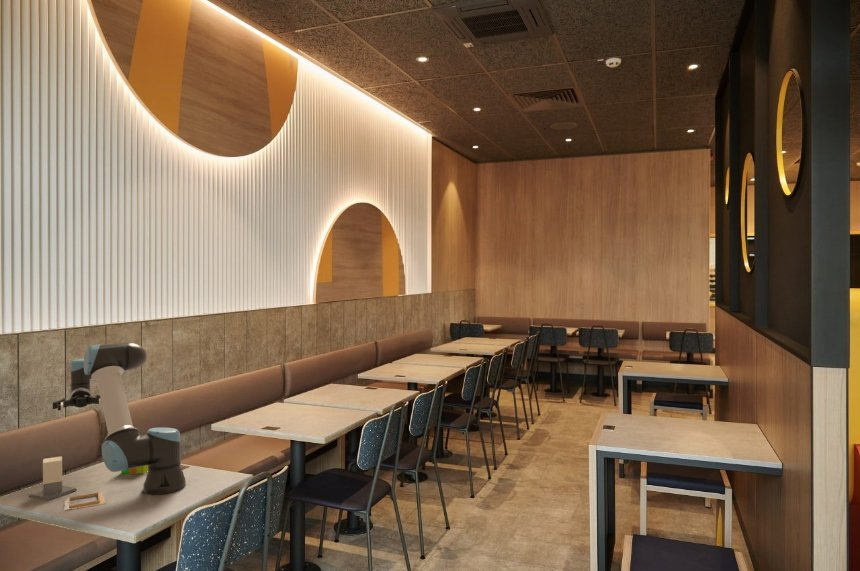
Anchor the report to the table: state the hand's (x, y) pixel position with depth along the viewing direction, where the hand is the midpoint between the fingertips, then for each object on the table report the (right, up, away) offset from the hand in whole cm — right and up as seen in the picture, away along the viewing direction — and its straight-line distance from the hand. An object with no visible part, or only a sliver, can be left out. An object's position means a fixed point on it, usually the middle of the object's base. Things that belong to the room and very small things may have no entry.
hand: (81, 406), depth 239 cm
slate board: (-2, -30, -15) cm, 34 cm away
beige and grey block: (-2, -29, -15) cm, 33 cm away
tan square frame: (+15, -30, -24) cm, 41 cm away
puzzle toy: (+18, -30, +12) cm, 37 cm away
